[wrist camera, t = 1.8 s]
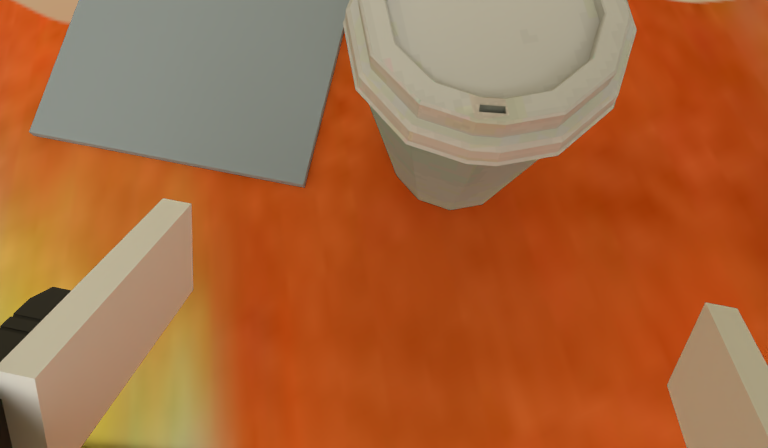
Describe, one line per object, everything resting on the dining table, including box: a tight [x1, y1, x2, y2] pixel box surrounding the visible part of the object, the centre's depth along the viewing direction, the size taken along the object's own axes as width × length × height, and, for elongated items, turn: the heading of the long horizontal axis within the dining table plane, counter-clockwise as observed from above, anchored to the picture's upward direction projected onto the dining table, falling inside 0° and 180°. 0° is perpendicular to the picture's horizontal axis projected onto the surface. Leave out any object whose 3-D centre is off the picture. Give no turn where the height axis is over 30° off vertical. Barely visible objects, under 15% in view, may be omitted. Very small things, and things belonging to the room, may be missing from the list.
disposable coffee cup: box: [343, 0, 637, 210], centre depth 30 cm, size 11×11×15 cm
